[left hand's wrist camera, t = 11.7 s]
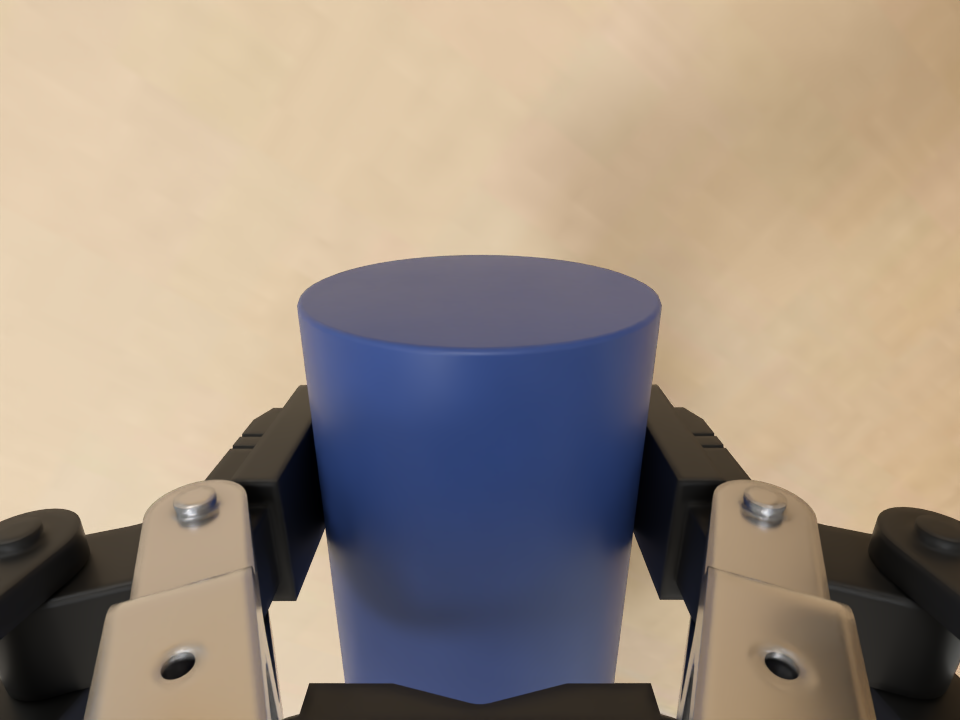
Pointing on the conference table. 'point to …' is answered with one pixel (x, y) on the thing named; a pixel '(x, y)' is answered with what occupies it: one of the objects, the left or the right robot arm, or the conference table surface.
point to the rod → (479, 466)
